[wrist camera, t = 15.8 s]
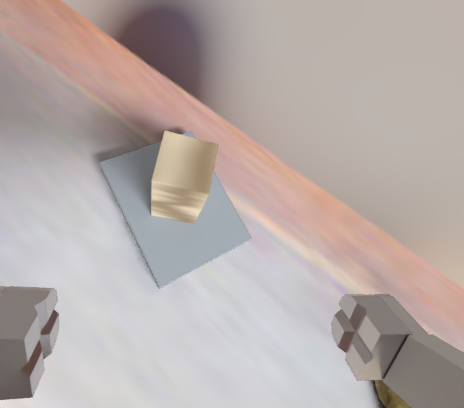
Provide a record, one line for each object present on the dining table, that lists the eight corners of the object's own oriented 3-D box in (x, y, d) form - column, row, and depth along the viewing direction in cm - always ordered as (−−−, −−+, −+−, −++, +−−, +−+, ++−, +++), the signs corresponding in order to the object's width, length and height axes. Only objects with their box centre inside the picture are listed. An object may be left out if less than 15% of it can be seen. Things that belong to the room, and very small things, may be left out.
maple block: (151, 215, 34) (151, 179, 25) (161, 176, 36) (164, 130, 27) (194, 224, 35) (209, 193, 26) (201, 186, 37) (218, 144, 28)
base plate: (103, 173, 38) (99, 162, 35) (188, 142, 42) (191, 130, 39) (159, 289, 35) (159, 287, 32) (244, 243, 39) (251, 237, 36)
